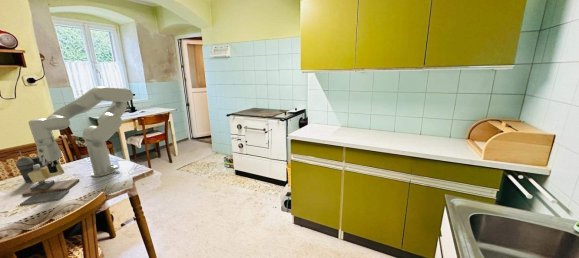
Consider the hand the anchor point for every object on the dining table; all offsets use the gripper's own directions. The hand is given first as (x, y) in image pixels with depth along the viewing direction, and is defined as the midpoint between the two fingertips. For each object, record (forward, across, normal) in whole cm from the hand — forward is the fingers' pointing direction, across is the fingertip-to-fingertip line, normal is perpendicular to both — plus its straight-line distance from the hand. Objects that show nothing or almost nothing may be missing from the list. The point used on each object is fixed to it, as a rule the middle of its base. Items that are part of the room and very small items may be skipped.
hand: (55, 171), depth 132 cm
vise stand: (+10, -1, +4) cm, 10 cm away
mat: (+10, -13, -1) cm, 16 cm away
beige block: (+3, 0, +3) cm, 4 cm away
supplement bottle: (+10, +24, +25) cm, 36 cm away
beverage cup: (+10, +14, +22) cm, 28 cm away
